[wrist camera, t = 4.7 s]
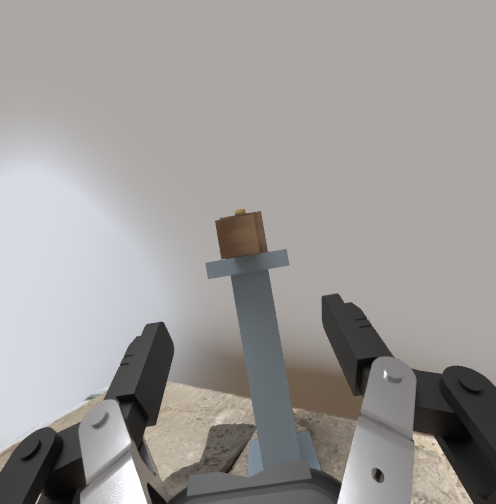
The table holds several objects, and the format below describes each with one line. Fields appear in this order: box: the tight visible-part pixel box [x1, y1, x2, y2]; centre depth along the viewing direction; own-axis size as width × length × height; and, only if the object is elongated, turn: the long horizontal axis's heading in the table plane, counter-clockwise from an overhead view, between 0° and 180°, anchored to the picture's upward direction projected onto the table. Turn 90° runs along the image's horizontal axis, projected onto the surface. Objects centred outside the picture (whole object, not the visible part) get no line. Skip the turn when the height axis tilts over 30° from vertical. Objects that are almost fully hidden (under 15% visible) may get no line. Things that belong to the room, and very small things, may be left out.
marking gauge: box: [215, 209, 268, 259], centre depth 29 cm, size 6×21×7 cm, turn 178°
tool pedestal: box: [206, 249, 321, 477], centre depth 34 cm, size 10×11×32 cm
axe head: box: [163, 423, 256, 498], centre depth 38 cm, size 20×5×10 cm
